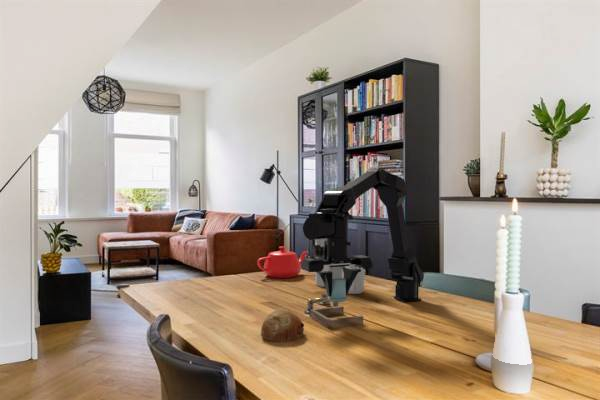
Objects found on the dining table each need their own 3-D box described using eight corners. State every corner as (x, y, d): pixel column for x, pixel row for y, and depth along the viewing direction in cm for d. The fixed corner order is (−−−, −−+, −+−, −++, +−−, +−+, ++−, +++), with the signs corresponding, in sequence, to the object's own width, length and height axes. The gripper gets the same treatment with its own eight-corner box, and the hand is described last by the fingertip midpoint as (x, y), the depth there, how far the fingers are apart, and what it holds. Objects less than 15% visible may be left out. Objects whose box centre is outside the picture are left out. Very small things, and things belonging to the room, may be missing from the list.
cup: (364, 297, 148) (364, 273, 148) (339, 296, 149) (339, 272, 149) (365, 291, 158) (366, 268, 158) (343, 290, 160) (343, 267, 160)
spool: (341, 297, 125) (341, 276, 125) (350, 300, 120) (350, 280, 120) (325, 298, 123) (325, 278, 123) (333, 302, 118) (333, 281, 118)
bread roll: (268, 344, 113) (254, 315, 113) (305, 326, 114) (291, 297, 113) (269, 359, 103) (253, 327, 103) (309, 338, 104) (294, 307, 103)
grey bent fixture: (326, 301, 142) (326, 289, 142) (344, 310, 132) (344, 297, 131) (292, 305, 138) (292, 292, 138) (307, 314, 127) (307, 301, 127)
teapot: (267, 282, 175) (267, 250, 175) (248, 276, 188) (248, 246, 187) (319, 275, 189) (319, 246, 189) (298, 270, 202) (298, 243, 202)
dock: (341, 313, 129) (341, 306, 129) (363, 324, 118) (363, 316, 118) (309, 316, 125) (309, 309, 125) (328, 328, 114) (328, 320, 114)
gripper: (353, 233, 132) (353, 287, 132) (293, 236, 125) (294, 292, 126) (373, 236, 122) (373, 295, 122) (309, 239, 115) (309, 301, 115)
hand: (337, 295), depth 122 cm, fingers closed on spool, 4 cm apart
